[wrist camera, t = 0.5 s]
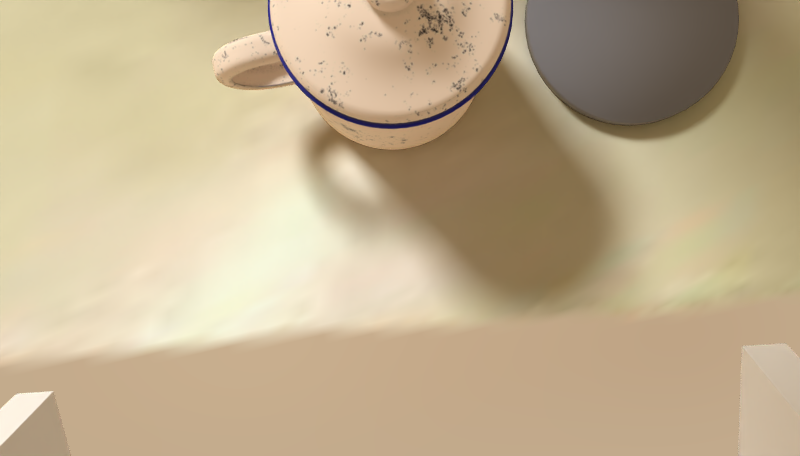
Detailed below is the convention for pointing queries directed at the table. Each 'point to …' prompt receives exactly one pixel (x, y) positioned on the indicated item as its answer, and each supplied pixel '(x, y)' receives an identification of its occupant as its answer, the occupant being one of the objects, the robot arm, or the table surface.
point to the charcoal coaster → (631, 54)
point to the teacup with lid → (375, 62)
